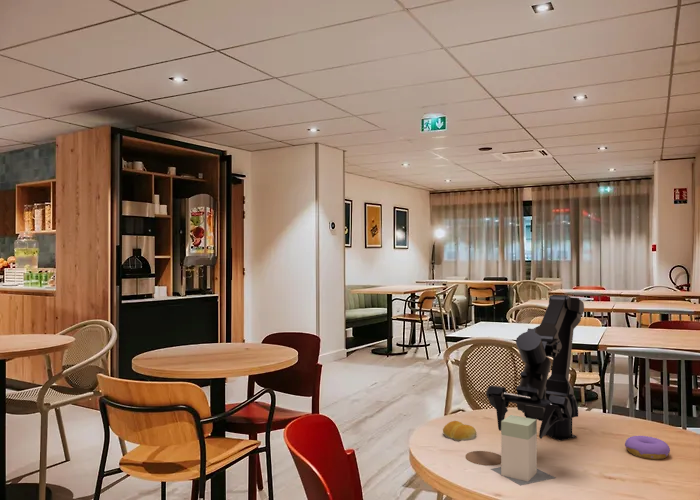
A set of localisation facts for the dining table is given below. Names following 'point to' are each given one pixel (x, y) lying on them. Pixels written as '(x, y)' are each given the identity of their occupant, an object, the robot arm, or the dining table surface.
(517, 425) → the carton
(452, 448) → the dining table surface
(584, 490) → the dining table surface
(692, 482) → the dining table surface
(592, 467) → the dining table surface
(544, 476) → the mat
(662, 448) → the donut
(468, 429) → the bread roll
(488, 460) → the disc
